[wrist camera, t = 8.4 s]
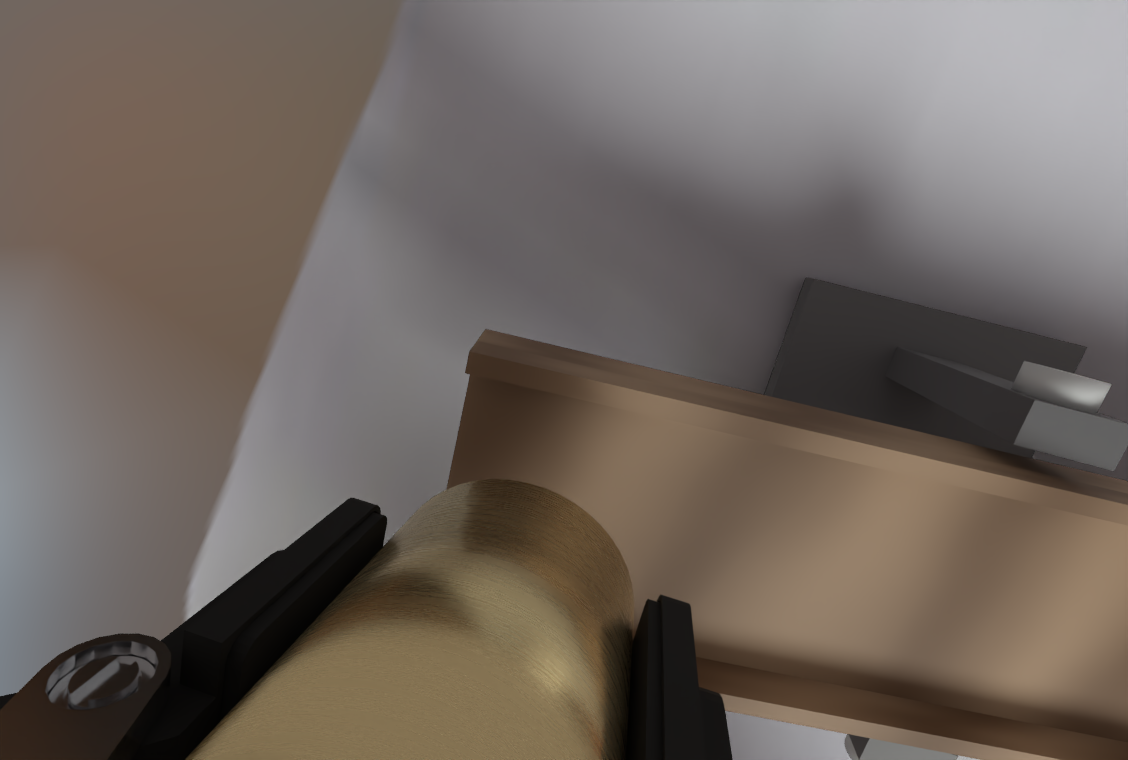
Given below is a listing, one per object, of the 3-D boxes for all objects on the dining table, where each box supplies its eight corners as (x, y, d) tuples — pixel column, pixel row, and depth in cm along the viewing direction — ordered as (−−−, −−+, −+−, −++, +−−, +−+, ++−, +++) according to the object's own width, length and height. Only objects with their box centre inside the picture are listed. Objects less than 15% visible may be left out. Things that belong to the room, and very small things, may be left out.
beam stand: (1063, 342, 21) (1353, 404, 13) (910, 655, 25) (1048, 873, 16) (805, 277, 22) (904, 292, 14) (695, 589, 26) (716, 760, 17)
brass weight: (583, 448, 10) (486, 709, 4) (669, 679, 11) (684, 1163, 5) (352, 516, 11) (27, 796, 5) (444, 722, 12) (247, 1160, 6)
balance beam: (1445, 556, 17) (1708, 653, 13) (1296, 756, 19) (1484, 890, 15) (485, 329, 15) (459, 364, 11) (432, 582, 17) (395, 687, 13)
